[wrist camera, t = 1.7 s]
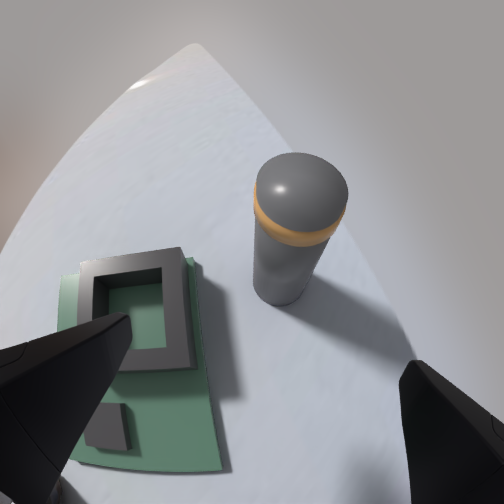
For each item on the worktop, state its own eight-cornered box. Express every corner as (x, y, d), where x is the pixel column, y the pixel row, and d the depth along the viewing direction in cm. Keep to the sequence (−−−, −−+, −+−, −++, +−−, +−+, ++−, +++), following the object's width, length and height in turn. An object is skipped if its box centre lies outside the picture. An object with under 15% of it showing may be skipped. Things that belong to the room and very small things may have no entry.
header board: (223, 467, 17) (217, 482, 13) (74, 457, 15) (50, 464, 12) (194, 261, 25) (186, 240, 21) (65, 278, 23) (44, 263, 20)
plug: (310, 301, 23) (363, 219, 12) (256, 311, 23) (264, 231, 11) (298, 253, 25) (332, 149, 14) (248, 260, 25) (247, 155, 14)
